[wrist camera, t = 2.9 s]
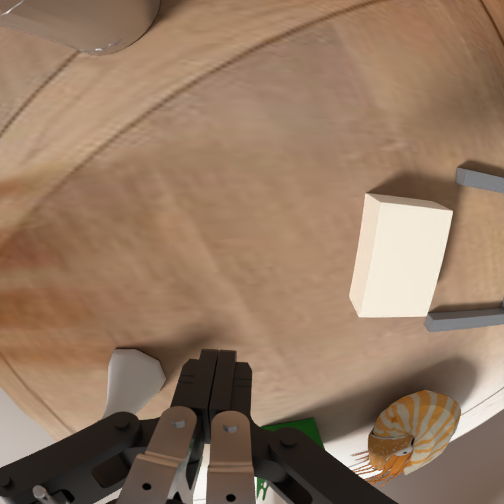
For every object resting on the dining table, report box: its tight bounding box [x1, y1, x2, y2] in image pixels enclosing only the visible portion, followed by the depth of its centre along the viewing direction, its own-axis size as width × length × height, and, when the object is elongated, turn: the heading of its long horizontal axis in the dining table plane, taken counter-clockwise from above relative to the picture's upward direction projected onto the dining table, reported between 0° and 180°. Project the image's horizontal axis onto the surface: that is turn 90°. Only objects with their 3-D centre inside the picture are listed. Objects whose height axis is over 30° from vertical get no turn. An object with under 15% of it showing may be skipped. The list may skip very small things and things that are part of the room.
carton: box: [349, 193, 453, 317], centre depth 26 cm, size 10×7×4 cm
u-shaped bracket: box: [424, 167, 504, 332], centre depth 27 cm, size 17×14×2 cm
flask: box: [97, 349, 166, 422], centre depth 29 cm, size 7×7×10 cm
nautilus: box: [352, 390, 461, 487], centre depth 34 cm, size 8×22×15 cm
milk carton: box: [256, 418, 325, 504], centre depth 28 cm, size 9×9×20 cm
